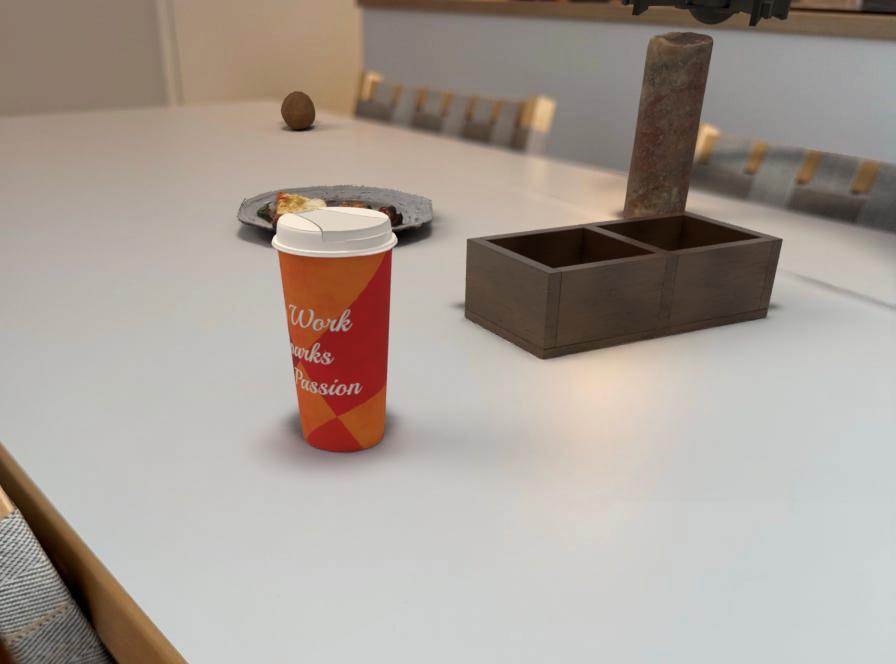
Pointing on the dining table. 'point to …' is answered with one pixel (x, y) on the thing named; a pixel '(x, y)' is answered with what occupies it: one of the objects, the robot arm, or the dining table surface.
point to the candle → (667, 123)
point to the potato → (298, 110)
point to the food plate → (336, 205)
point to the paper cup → (338, 321)
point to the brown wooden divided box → (618, 281)
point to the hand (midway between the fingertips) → (695, 7)
